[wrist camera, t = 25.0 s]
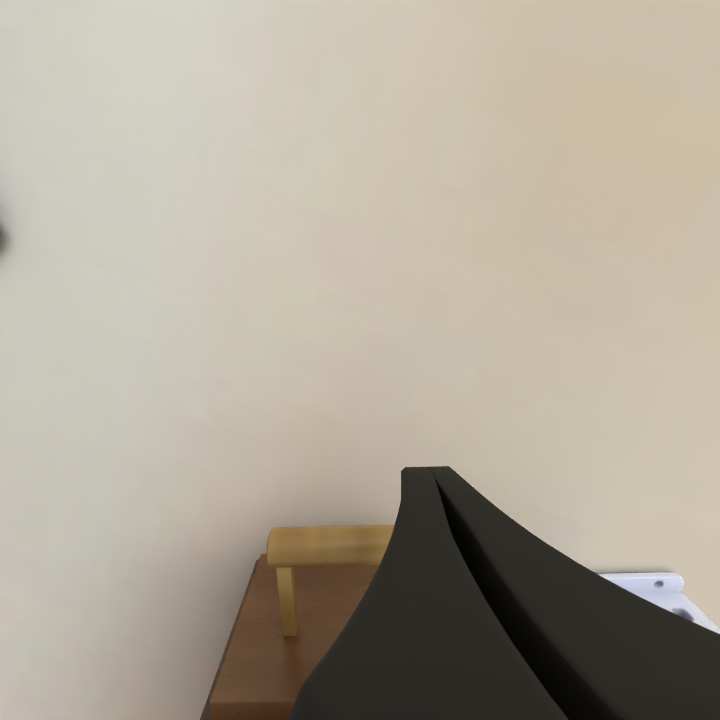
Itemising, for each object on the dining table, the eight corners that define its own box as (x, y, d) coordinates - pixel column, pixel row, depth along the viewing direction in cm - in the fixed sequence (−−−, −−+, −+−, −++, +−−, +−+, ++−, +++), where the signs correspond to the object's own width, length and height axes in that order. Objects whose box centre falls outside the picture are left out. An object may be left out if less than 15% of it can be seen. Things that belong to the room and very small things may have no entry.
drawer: (252, 473, 18) (189, 589, 11) (464, 468, 18) (527, 581, 11) (280, 732, 22) (246, 925, 16) (451, 728, 22) (490, 920, 16)
